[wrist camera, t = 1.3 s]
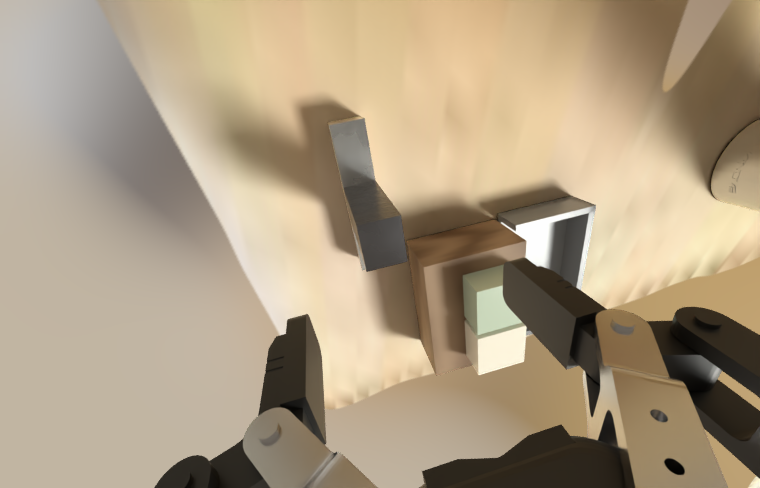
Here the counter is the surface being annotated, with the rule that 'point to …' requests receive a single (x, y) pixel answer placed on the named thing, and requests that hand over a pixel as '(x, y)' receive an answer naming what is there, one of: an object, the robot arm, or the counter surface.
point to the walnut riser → (454, 283)
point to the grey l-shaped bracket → (366, 198)
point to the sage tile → (486, 301)
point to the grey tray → (555, 235)
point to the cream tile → (495, 347)
